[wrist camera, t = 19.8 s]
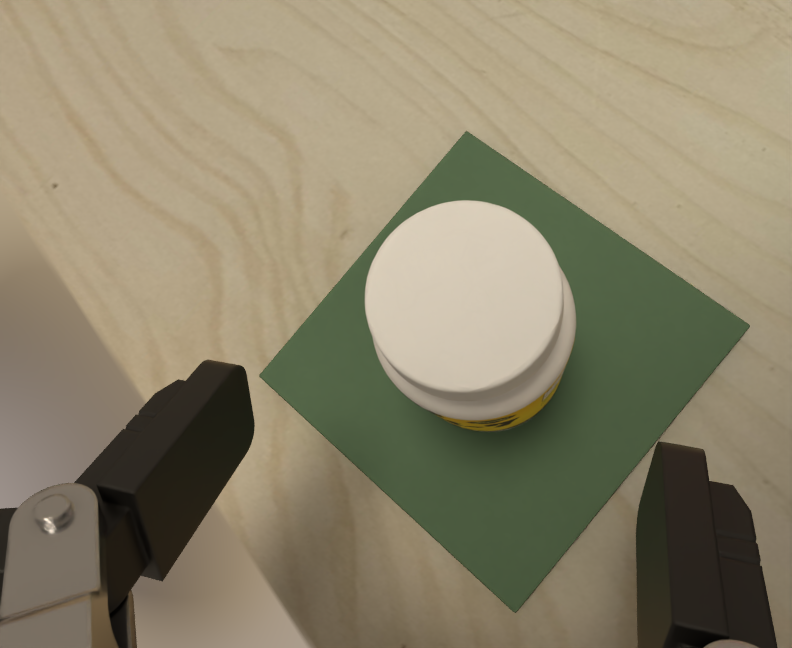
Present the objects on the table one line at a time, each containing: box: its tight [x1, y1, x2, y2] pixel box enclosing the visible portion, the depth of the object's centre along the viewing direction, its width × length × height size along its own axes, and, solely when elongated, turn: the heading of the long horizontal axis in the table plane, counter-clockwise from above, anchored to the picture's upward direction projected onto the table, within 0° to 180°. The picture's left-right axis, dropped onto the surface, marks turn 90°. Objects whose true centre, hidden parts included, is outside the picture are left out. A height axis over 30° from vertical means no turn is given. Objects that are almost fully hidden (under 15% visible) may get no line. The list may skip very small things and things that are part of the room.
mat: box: [259, 131, 750, 613], centre depth 22 cm, size 11×11×1 cm
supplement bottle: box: [365, 200, 576, 432], centre depth 17 cm, size 5×5×8 cm
